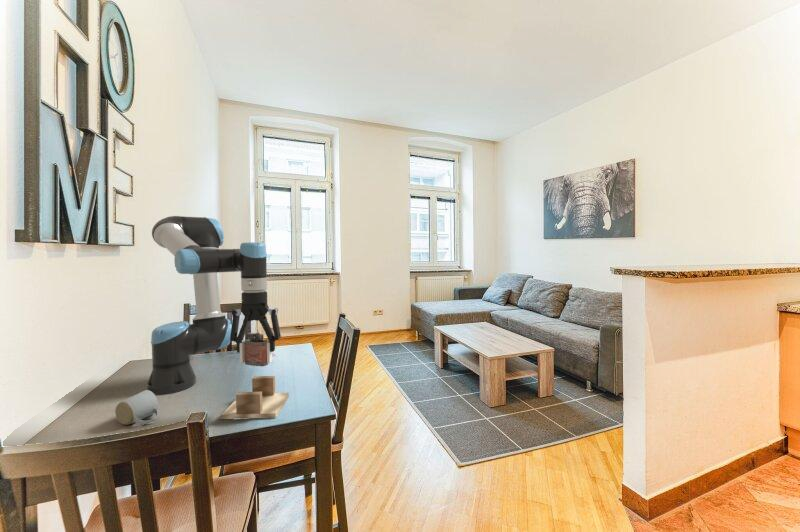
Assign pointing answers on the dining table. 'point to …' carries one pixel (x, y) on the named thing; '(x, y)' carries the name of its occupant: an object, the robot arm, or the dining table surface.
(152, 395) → the ceramic mug
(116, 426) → the dining table surface
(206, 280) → the robot arm
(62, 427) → the dining table surface
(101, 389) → the dining table surface
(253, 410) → the stand
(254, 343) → the lighter
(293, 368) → the dining table surface
